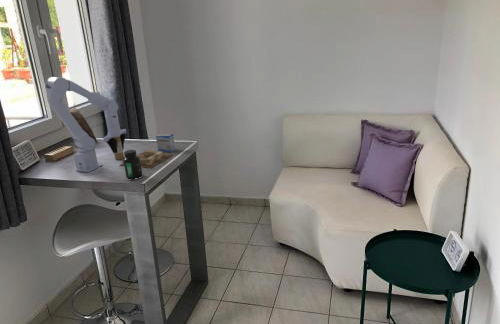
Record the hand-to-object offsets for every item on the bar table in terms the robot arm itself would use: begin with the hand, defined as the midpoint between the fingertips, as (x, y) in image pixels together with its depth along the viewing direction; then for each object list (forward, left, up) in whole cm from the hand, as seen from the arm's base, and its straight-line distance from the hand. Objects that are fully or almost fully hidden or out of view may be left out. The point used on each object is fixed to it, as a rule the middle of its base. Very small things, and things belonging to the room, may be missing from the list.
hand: (118, 151), depth 196 cm
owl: (+18, +39, -4) cm, 43 cm away
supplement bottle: (-20, -24, -4) cm, 32 cm away
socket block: (0, -16, -4) cm, 16 cm away
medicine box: (+15, -18, -4) cm, 24 cm away
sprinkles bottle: (0, 0, -4) cm, 4 cm away
